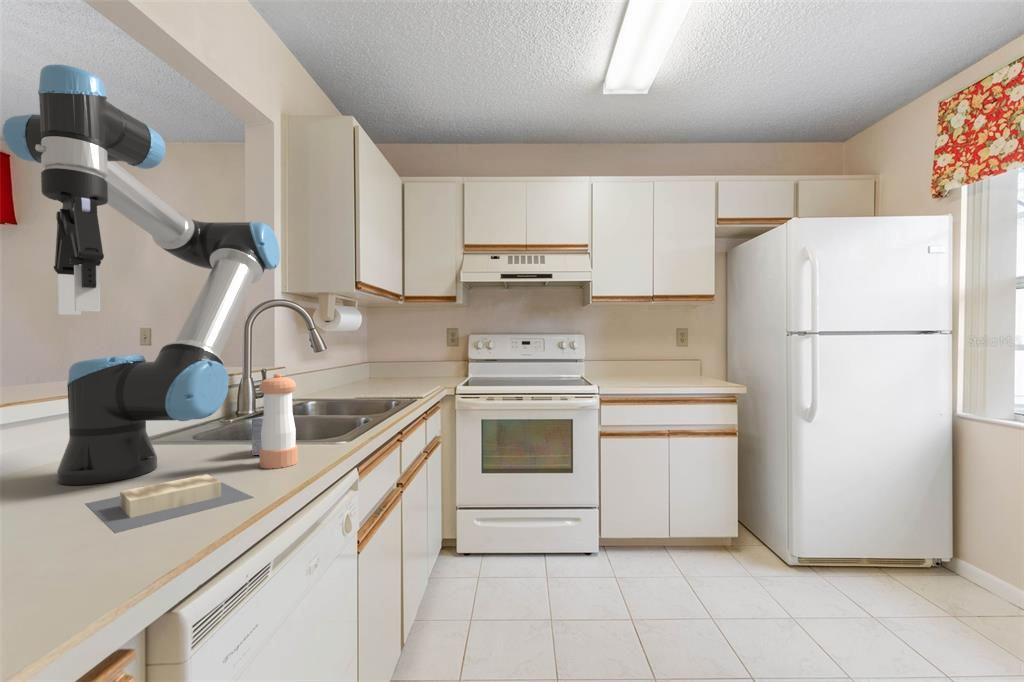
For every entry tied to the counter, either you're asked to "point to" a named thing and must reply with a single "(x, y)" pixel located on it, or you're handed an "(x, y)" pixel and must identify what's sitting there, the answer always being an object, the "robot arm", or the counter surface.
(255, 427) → the medicine box
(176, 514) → the mat
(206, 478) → the birch block
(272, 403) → the salt shaker
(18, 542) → the counter surface
